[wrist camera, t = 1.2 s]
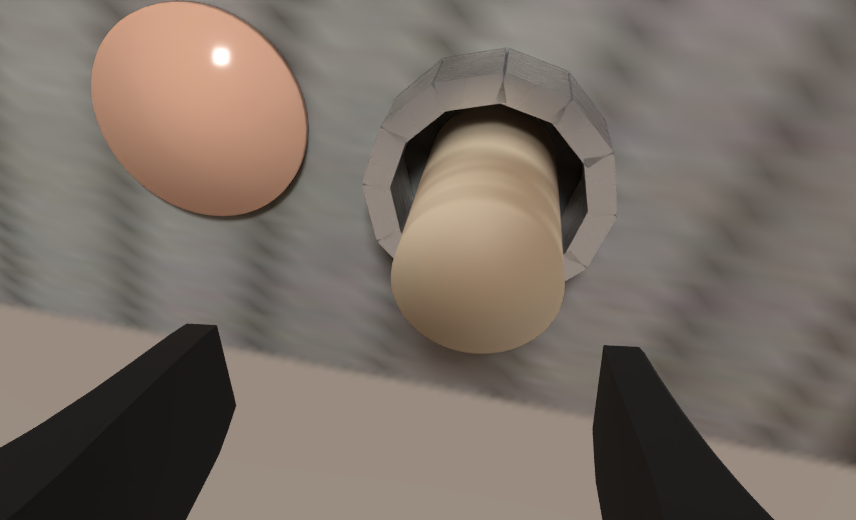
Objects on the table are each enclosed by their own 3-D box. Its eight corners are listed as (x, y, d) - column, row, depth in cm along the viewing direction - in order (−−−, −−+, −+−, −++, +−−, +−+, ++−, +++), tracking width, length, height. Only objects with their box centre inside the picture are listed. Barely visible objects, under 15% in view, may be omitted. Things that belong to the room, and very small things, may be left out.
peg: (582, 175, 21) (600, 302, 15) (482, 241, 23) (464, 378, 17) (504, 76, 20) (490, 173, 14) (404, 154, 22) (355, 269, 16)
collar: (652, 183, 21) (665, 221, 19) (475, 294, 24) (470, 337, 22) (513, -2, 19) (511, 18, 17) (337, 146, 22) (316, 178, 20)
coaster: (353, 131, 22) (350, 136, 21) (217, 245, 25) (213, 250, 24) (184, -53, 19) (178, -51, 19) (58, 97, 22) (50, 101, 22)
